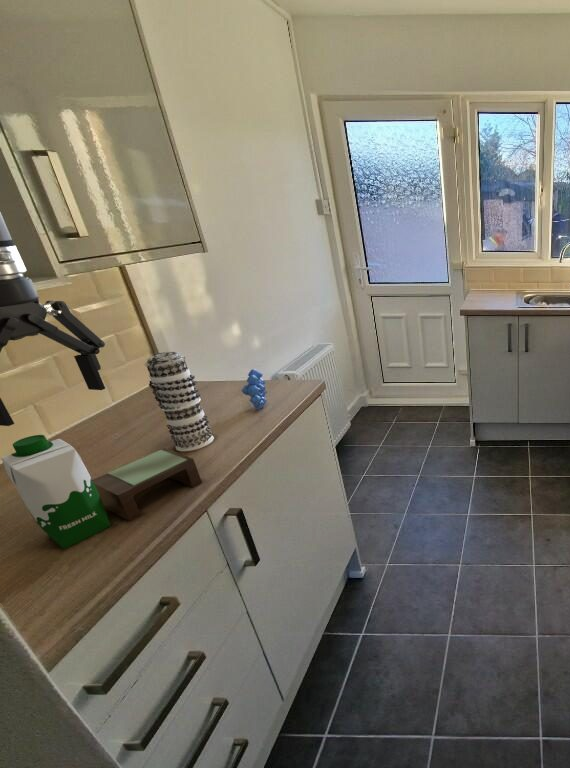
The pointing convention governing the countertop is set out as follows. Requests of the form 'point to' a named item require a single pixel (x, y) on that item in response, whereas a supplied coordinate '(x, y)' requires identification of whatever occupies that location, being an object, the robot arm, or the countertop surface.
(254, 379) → the grapes
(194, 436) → the white patterned cylinder
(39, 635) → the countertop surface
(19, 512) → the countertop surface
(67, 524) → the milk carton
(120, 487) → the brown wooden stand
